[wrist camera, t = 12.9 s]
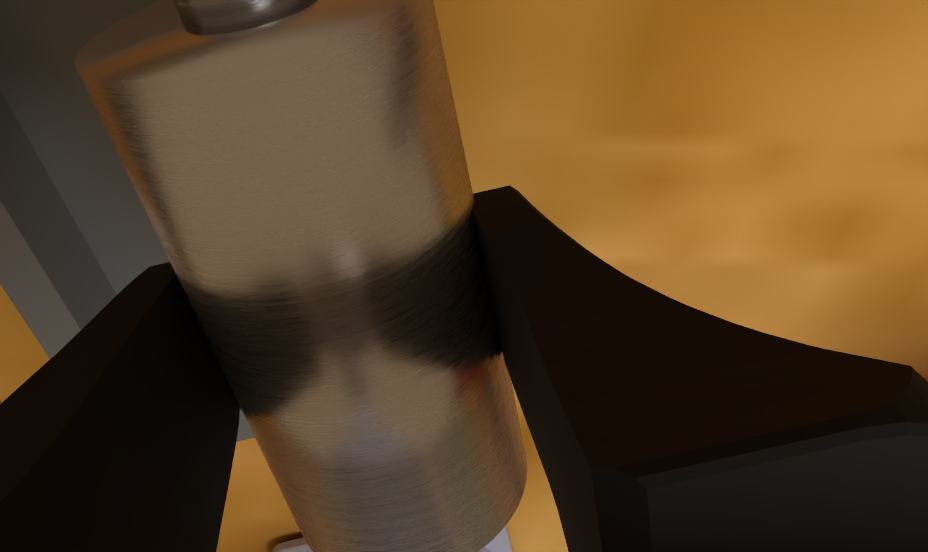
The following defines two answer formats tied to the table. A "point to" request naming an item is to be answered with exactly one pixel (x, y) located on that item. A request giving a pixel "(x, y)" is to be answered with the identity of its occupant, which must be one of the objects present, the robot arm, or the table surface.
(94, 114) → the bin
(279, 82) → the silver cell
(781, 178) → the table surface
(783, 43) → the table surface
